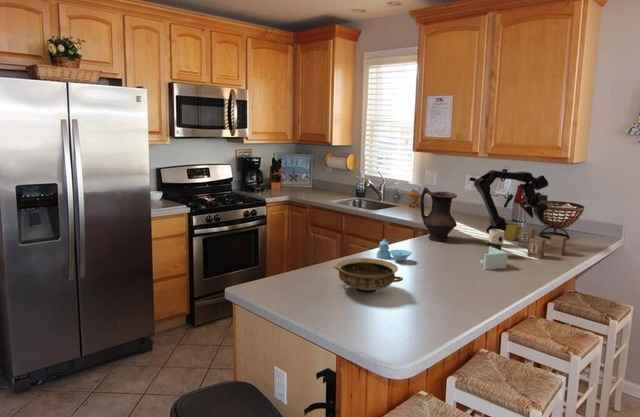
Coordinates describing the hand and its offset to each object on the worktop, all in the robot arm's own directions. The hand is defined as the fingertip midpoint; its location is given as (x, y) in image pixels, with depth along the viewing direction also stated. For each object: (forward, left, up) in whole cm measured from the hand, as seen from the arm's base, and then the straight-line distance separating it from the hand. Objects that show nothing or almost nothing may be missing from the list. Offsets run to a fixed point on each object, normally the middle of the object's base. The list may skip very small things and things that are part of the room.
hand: (537, 219), depth 270 cm
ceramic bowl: (-131, +15, -15) cm, 132 cm away
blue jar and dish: (-87, +34, -15) cm, 94 cm away
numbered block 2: (-25, -10, -15) cm, 31 cm away
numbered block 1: (-2, +4, -15) cm, 15 cm away
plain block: (-10, -15, -15) cm, 23 cm away
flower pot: (+2, +15, -15) cm, 21 cm away
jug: (-33, +43, -15) cm, 56 cm away
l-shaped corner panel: (-59, -1, -15) cm, 61 cm away
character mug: (-40, +5, -15) cm, 43 cm away
